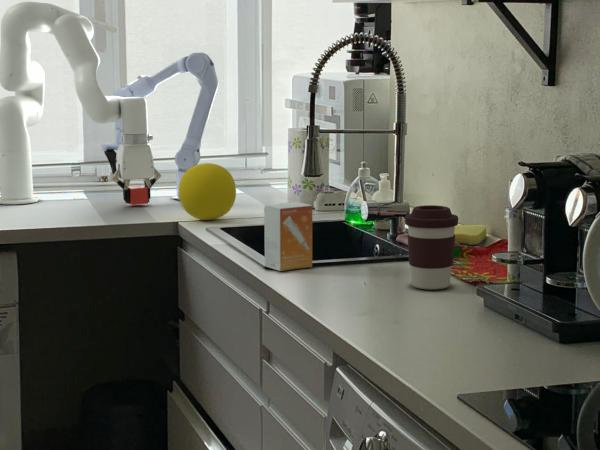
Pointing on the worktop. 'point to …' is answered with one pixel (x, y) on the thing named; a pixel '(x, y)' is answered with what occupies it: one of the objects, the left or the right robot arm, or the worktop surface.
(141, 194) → the red cube
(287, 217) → the small box
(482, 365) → the worktop surface
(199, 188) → the toy
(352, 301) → the worktop surface
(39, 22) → the left robot arm
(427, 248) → the coffee cup
